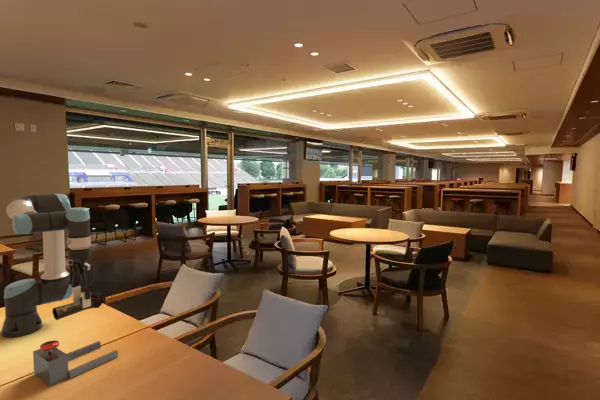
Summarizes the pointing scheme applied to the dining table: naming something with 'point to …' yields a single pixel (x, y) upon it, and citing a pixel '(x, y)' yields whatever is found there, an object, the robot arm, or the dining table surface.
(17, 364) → the dining table surface
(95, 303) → the morel mushroom
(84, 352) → the cradle
